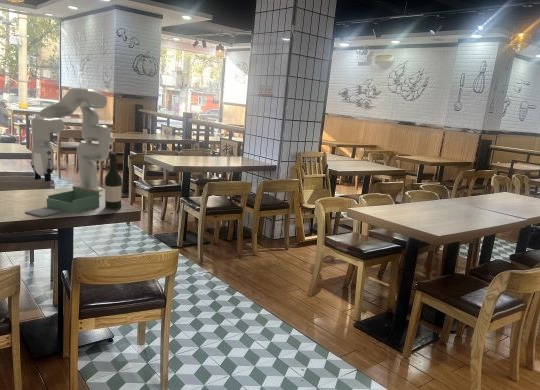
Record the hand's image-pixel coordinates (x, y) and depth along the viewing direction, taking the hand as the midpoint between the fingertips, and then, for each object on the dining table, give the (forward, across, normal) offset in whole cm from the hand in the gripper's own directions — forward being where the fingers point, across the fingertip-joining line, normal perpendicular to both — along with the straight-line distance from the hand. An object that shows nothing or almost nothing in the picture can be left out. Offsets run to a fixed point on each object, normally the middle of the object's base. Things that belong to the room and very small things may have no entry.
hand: (42, 179), depth 215 cm
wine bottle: (+17, -18, -29) cm, 38 cm away
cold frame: (+17, -2, -17) cm, 24 cm away
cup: (+7, 0, 0) cm, 7 cm away
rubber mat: (+17, 0, 0) cm, 17 cm away
